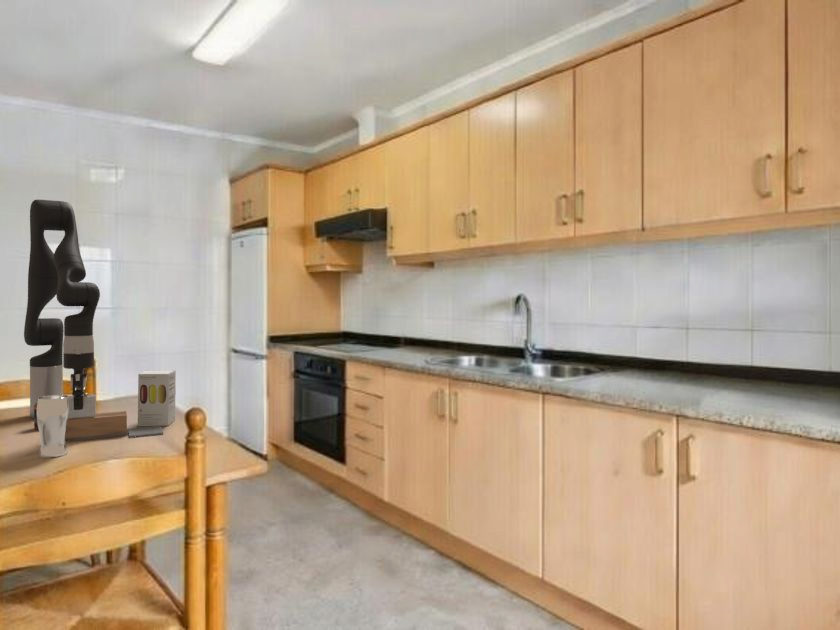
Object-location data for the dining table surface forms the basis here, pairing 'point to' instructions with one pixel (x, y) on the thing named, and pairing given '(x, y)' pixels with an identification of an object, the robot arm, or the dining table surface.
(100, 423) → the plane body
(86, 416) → the drawer with brass knob
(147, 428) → the mat
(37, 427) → the supplement bottle
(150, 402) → the supplement box
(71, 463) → the dining table surface
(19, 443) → the dining table surface
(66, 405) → the beer glass
